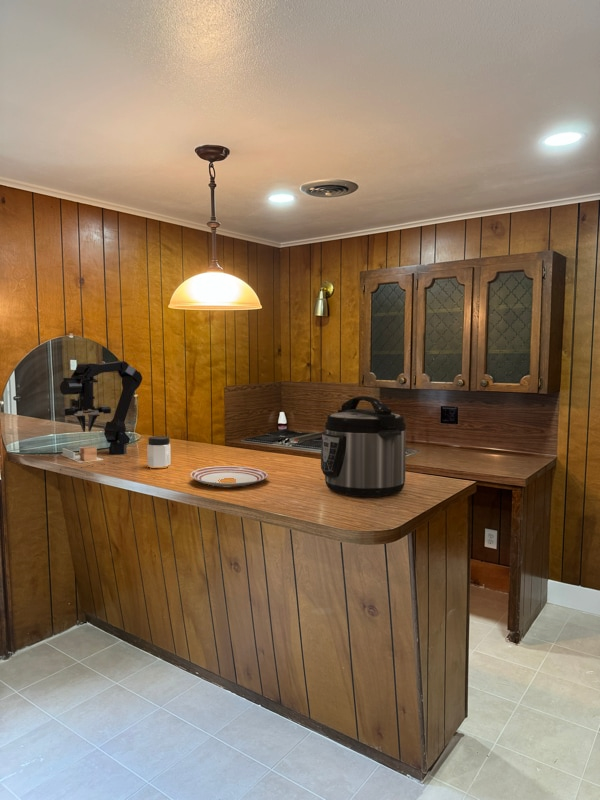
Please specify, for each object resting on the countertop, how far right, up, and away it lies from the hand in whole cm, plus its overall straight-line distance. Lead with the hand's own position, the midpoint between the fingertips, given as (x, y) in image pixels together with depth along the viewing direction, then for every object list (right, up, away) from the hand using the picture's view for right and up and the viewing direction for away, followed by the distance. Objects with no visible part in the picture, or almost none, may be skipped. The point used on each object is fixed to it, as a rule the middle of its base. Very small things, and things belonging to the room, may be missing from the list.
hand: (86, 431), depth 229 cm
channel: (-5, -13, +6) cm, 15 cm away
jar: (+32, -14, -7) cm, 35 cm away
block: (+1, -12, -1) cm, 12 cm away
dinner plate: (+63, -17, -31) cm, 72 cm away
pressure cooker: (+109, -18, -41) cm, 118 cm away
